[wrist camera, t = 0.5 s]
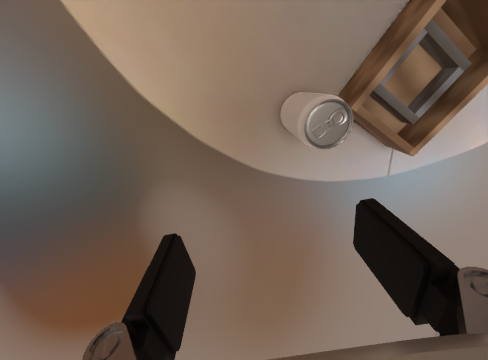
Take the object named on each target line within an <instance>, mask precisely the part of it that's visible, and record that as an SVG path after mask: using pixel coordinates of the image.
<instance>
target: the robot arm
mask: <svg viewBox="0 0 488 360" xmlns="http://www.w3.org/2000/svg"><path fill="white" fill-rule="evenodd" d="M353 244H354V247H355V249H356V251H357V252H358V253H359V255H360V256H361V258H362V259H363V260H364V262H365V263H366V264H367V266H368V267H369V268H370V270H371V271H372V272H373V274H374V275H375V277H376V278H377V279H378V281H379V282H380V283H381V285H382V286H383V287H384V289H385V290H386V291H387V293H388V294H389V295H390V297H391V298H392V300H393V301H394V302H395V304H396V305H397V306H398V308H399V309H400V310H401V312H402V313H403V314H404V315H405V316H406V317H410V319H411V320H412V321H413V323H414V324H415V325H421V324H428V323H429V324H430V325H431V327H432V328H433V329H434V330H435V337H429V338H421V339H412V340H404V341H397V342H389V343H382V344H376V345H368V346H360V347H353V348H346V349H338V350H331V351H324V352H318V353H310V354H303V355H296V356H290V357H282V358H275V359H269V360H488V270H486V269H483V268H477V267H465V268H461V269H459V268H458V267H457V266H456V265H454V263H453V262H452V261H451V260H450V259H448V258H447V257H446V256H445V255H443V254H442V253H441V252H440V251H438V250H437V249H436V248H435V247H433V246H432V245H431V244H430V243H428V242H427V241H426V240H425V239H424V238H422V237H421V236H419V234H417V233H416V232H415V231H414V230H412V229H411V228H410V227H409V226H407V225H406V224H405V223H404V222H402V221H401V220H400V219H399V218H397V217H396V216H395V215H394V214H393V213H391V212H390V211H389V210H387V209H386V208H385V207H384V206H383V205H381V204H380V203H379V202H378V201H376V200H375V199H373V198H371V199H366V200H361V201H360V202H359V204H357V205H356V215H355V227H354V240H353ZM195 275H196V272H195V268H194V266H193V264H192V261H191V259H190V257H189V254H188V252H187V250H186V248H185V246H184V243H183V241H182V238H181V237H180V236H177V234H169V235H165V236H164V237H163V238H162V241H161V243H160V245H159V247H158V249H157V251H156V253H155V255H154V257H153V259H152V261H151V263H150V265H149V267H148V268H147V271H146V272H145V274H144V277H143V278H142V281H141V283H140V285H139V287H138V289H137V291H136V293H135V295H134V297H133V299H132V301H131V303H130V305H129V307H128V309H127V311H126V313H125V315H124V317H123V319H122V322H115V323H113V324H110V325H108V326H107V327H105V328H104V329H102V330H101V331H100V332H99V333H98V334H97V335H96V336H95V337H94V338H93V339H92V340H91V342H90V343H89V345H88V346H87V348H86V350H85V352H84V355H83V360H174V359H175V354H176V351H179V349H180V346H181V342H182V337H183V332H184V328H185V323H186V318H187V314H188V309H189V304H190V299H191V295H192V290H193V285H194V281H195Z"/></svg>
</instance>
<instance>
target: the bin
mask: <svg viewBox="0 0 488 360" xmlns="http://www.w3.org/2000/svg"><path fill="white" fill-rule="evenodd" d="M487 84H488V0H410V1H409V2H408V3H407V5H406V6H405V7H404V9H403V10H402V11H401V13H400V14H399V15H398V17H397V18H396V19H395V21H394V22H393V23H392V25H391V26H390V27H389V29H388V30H387V31H386V33H385V34H384V35H383V37H382V38H381V39H380V41H379V42H378V43H377V45H376V46H375V47H374V49H373V50H372V51H371V53H370V54H369V55H368V57H367V58H366V59H365V61H364V62H363V63H362V65H361V66H360V67H359V69H358V70H357V71H356V73H355V74H354V75H353V77H352V78H351V79H350V81H349V82H348V83H347V85H346V86H345V87H344V89H343V90H342V91H341V93H340V94H339V95H338V97H340V98H341V99H342V100H344V101H345V103H347V104H348V105H349V106H350V108H351V110H352V112H353V118H354V120H353V121H354V122H356V123H357V124H358V125H360V126H361V127H362V128H364V129H365V130H366V131H367V132H369V133H370V134H371V135H373V136H374V137H375V138H377V139H378V140H379V141H381V142H382V143H383V144H385V145H386V146H388V147H390V148H393V149H395V150H398V151H400V152H403V153H405V154H408V155H410V156H414V155H415V154H416V153H417V152H418V151H419V150H420V149H421V148H422V147H423V146H424V145H425V144H427V143H428V142H429V141H430V140H431V139H432V138H433V137H434V136H435V135H436V134H437V133H438V132H439V131H440V130H441V129H442V128H443V127H444V126H445V125H446V124H447V123H448V122H449V121H450V120H451V119H452V118H453V117H454V116H455V115H456V114H457V113H458V112H459V111H460V110H461V109H462V108H463V107H464V106H465V105H467V104H468V103H469V102H470V101H471V100H472V99H473V98H474V97H475V96H476V95H477V94H478V93H479V92H480V91H481V90H482V89H483V88H484V87H485V86H486V85H487Z"/></svg>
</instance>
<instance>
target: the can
mask: <svg viewBox="0 0 488 360" xmlns="http://www.w3.org/2000/svg"><path fill="white" fill-rule="evenodd" d="M280 117H281V121H282V124H283V125H284V127H285V128H286V129H287V130H289V131H290V132H291V133H292V134H293V135H294V136H296V137H297V138H298V139H299V140H300V141H302V142H303V143H304V144H306V145H307V146H309V147H312V148H318V149H329V148H333V147H335V146H337V145H339V144H340V143H342V142H343V141H344V140H345V139H346V138H347V136H348V135H349V133H350V132H351V129H352V126H353V120H354V118H353V112H352V110H351V108H350V106H349V105H348V104H347V103H345V101H344V100H342V99H341V98H340V97H338V96H335V95H331V94H322V93H310V92H298V93H295V94H293V95H291V96H289V97H288V98H287V99H286V100H285V102H284V103H283V105H282V108H281V112H280Z"/></svg>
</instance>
